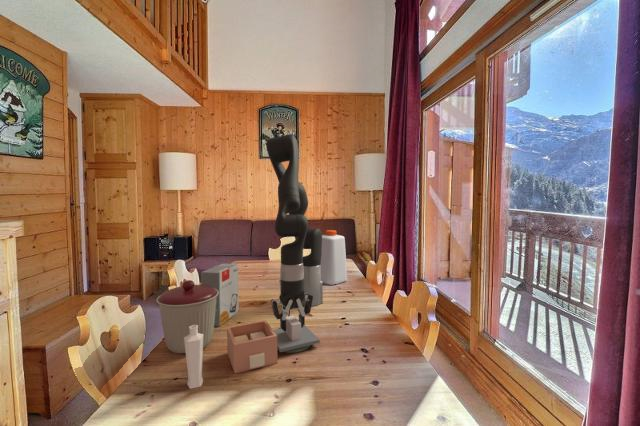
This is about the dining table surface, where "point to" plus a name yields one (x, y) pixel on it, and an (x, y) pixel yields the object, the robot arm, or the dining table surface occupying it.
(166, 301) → the canister
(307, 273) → the robot arm
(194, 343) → the perfume bottle
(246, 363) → the crate
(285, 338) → the lid
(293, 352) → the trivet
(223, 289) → the hard drive box
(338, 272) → the plastic bottle
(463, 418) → the dining table surface
